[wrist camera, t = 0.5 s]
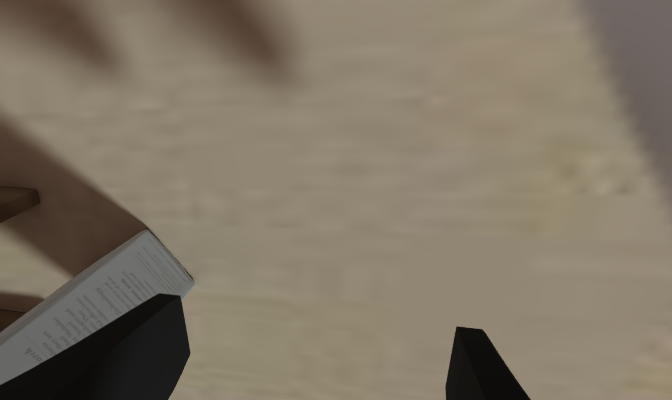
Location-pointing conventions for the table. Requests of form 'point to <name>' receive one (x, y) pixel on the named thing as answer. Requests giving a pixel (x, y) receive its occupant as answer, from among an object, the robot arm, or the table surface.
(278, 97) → the table surface
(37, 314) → the skincare box
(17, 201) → the bottle holder
